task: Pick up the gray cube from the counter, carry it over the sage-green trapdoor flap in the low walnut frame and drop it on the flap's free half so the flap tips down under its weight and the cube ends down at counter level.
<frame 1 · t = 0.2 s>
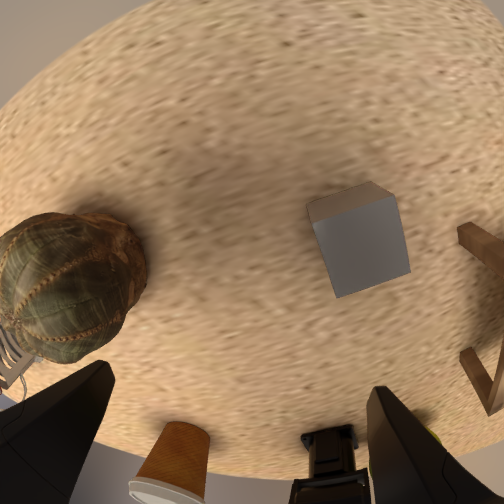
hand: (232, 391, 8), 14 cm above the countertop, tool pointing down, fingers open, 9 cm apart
disposable coffee cup: (187, 433, 33), on the countertop
french press: (25, 340, 32), on the countertop
shell: (105, 251, 24), on the countertop
gray cube: (349, 224, 20), on the countertop
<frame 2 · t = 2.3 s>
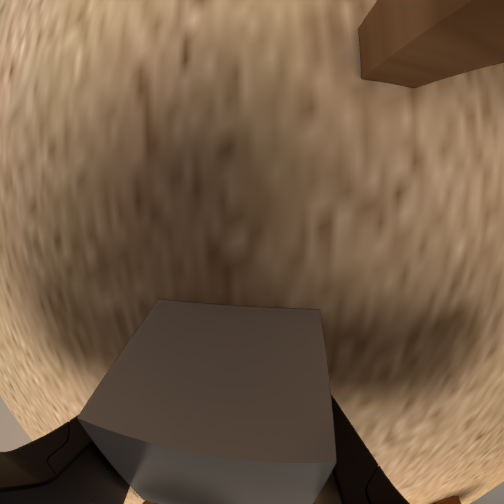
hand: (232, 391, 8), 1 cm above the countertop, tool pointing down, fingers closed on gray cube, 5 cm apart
gray cube: (238, 365, 10), on the countertop, touching gripper
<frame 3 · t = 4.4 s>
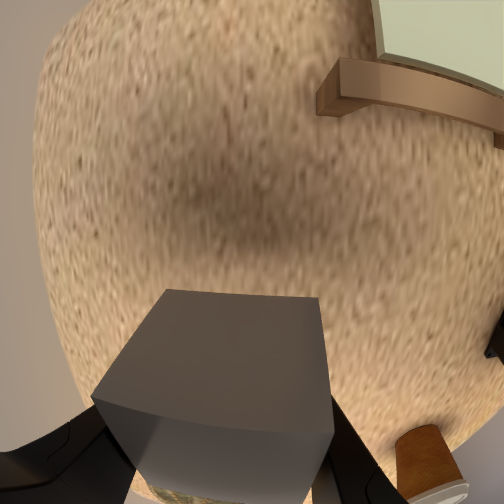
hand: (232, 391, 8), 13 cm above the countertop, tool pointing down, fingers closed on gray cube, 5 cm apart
disposable coffee cup: (416, 436, 28), on the countertop
frame: (421, 44, 13), on the countertop
shell: (215, 414, 28), on the countertop
gray cube: (241, 352, 10), point 11 cm above the countertop, touching gripper
trapdoor: (486, 11, 6), point 8 cm above the countertop, hinge at 0.0°
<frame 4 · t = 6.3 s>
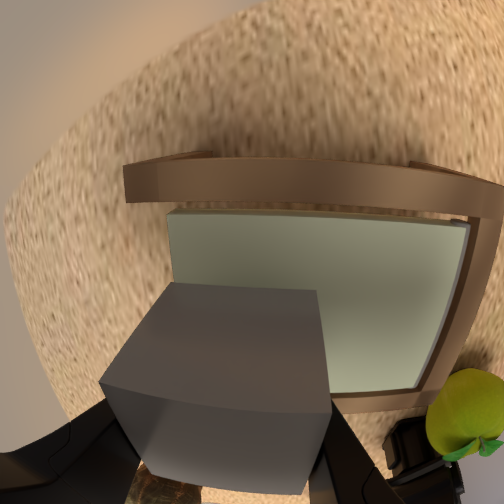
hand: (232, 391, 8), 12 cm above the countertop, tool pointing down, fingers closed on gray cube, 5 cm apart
frame: (307, 249, 20), on the countertop
shell: (174, 460, 35), on the countertop
fruit: (453, 380, 23), on the countertop, touching arm
gray cube: (242, 344, 11), point 10 cm above the countertop, touching gripper
trapdoor: (323, 317, 12), point 8 cm above the countertop, hinge at 0.0°
when the fingers open (12 cm above the countertop, at t = 6.6 s): gray cube drops 7 cm and tips over, resting on trapdoor.
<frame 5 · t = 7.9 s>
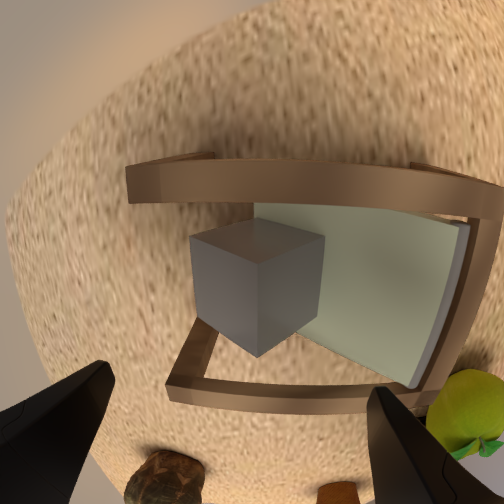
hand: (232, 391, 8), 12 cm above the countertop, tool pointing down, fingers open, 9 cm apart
disposable coffee cup: (337, 486, 34), on the countertop
frame: (308, 250, 20), on the countertop
shell: (174, 461, 35), on the countertop
fruit: (454, 380, 23), on the countertop, touching arm
gray cube: (286, 265, 17), point 3 cm above the countertop, tilted 39°, touching trapdoor
trapdoor: (340, 280, 15), point 4 cm above the countertop, hinge at -39.3°, touching gray cube
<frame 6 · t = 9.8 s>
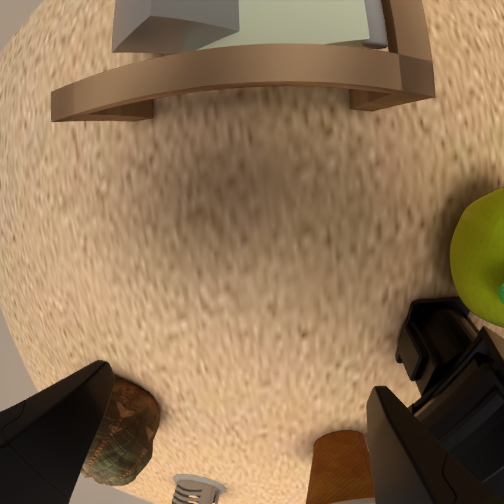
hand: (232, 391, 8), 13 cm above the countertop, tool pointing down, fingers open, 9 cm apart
disposable coffee cup: (339, 441, 29), on the countertop
french press: (203, 483, 38), on the countertop
frame: (240, 20, 14), on the countertop
shell: (125, 398, 30), on the countertop
fruit: (474, 231, 18), on the countertop
gray cube: (209, 9, 12), point 2 cm above the countertop, tilted 40°, touching trapdoor
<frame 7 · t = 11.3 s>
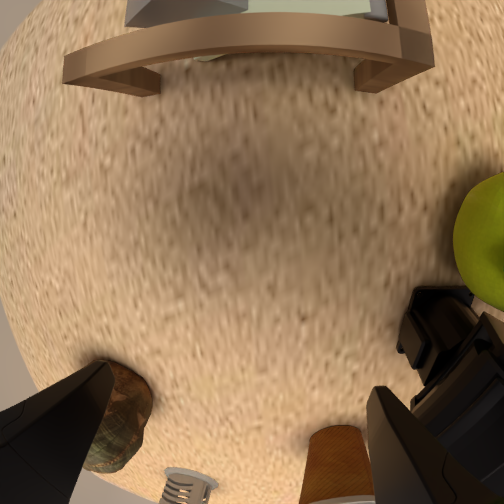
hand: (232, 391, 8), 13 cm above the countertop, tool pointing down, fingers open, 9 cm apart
disposable coffee cup: (335, 437, 29), on the countertop
french press: (195, 478, 38), on the countertop
frame: (249, 4, 14), on the countertop
shell: (118, 383, 29), on the countertop
fruit: (477, 219, 18), on the countertop
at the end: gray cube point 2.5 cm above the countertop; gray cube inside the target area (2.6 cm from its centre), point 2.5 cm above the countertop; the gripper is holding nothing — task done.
